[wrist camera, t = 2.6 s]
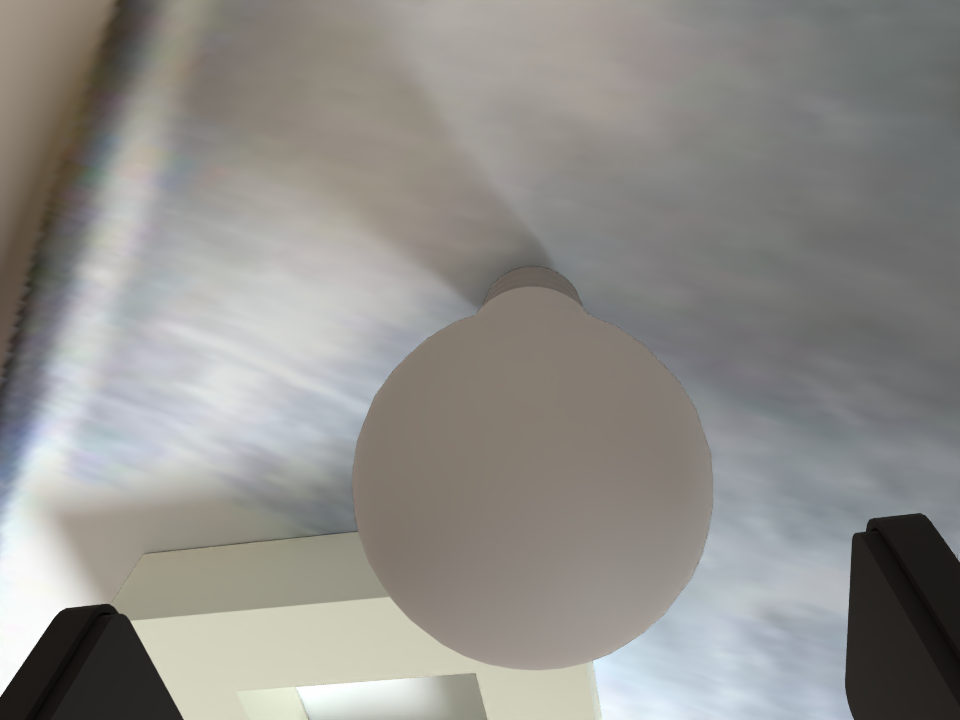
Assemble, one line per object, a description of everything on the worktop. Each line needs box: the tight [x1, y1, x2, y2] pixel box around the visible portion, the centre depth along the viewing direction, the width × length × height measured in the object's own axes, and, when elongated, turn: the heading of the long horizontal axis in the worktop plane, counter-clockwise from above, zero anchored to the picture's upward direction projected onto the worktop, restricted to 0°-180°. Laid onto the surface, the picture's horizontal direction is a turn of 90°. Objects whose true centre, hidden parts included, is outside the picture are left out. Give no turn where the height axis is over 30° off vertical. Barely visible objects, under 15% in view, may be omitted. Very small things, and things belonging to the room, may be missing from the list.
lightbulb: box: [352, 266, 713, 670], centre depth 16 cm, size 6×6×11 cm
